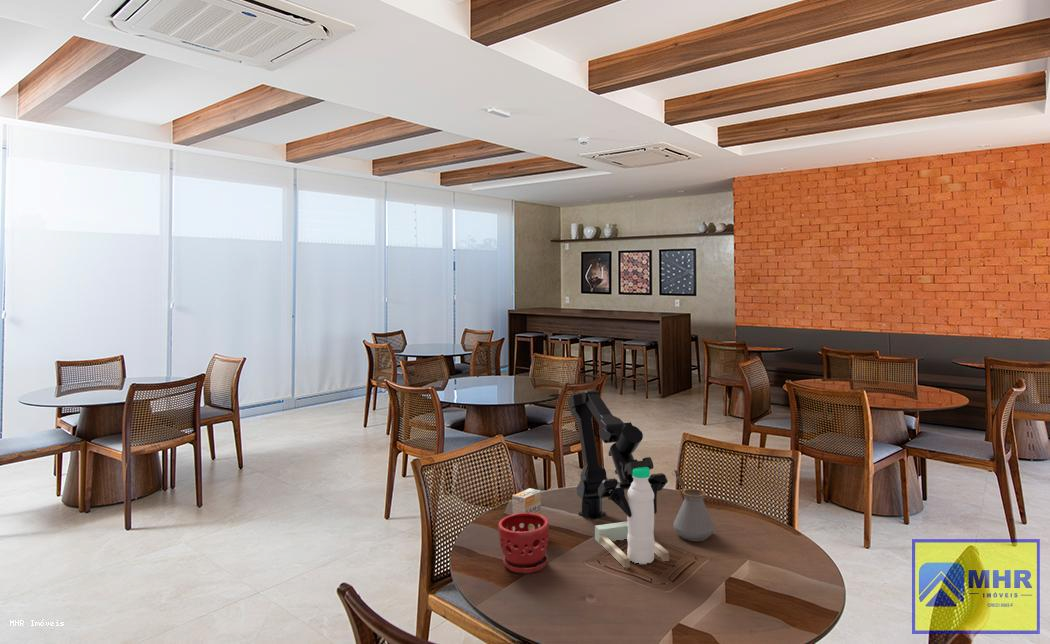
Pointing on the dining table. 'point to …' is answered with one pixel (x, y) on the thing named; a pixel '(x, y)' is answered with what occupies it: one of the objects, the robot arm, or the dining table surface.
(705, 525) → the coffee pot
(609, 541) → the rails
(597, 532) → the block
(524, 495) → the supplement box
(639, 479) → the water bottle
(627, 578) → the dining table surface
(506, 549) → the plant pot
